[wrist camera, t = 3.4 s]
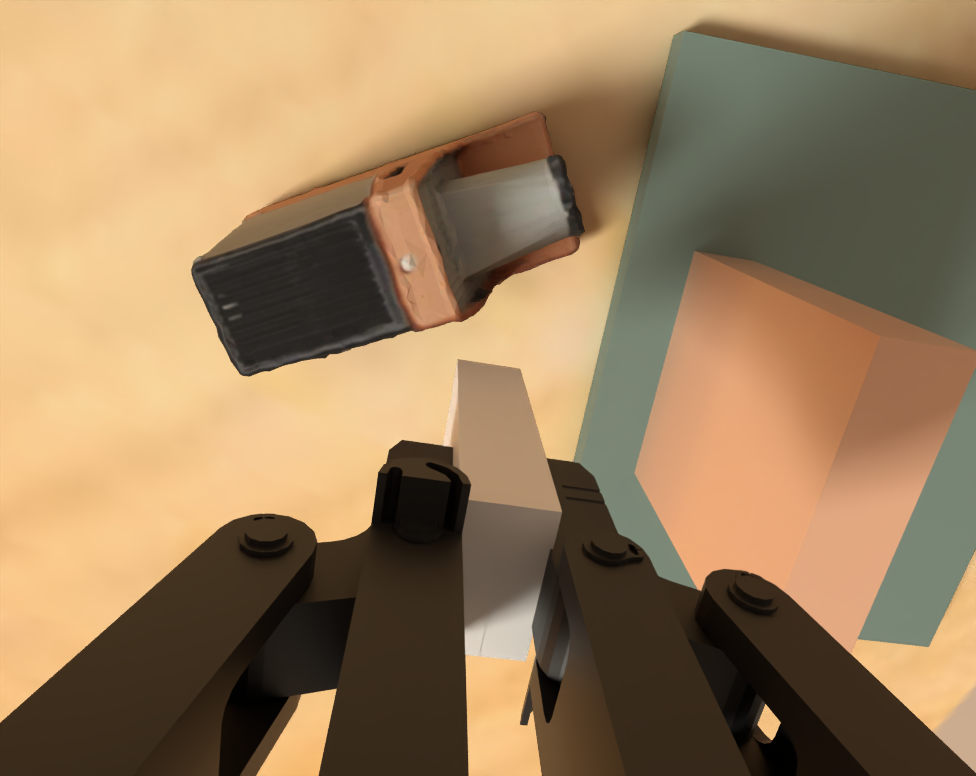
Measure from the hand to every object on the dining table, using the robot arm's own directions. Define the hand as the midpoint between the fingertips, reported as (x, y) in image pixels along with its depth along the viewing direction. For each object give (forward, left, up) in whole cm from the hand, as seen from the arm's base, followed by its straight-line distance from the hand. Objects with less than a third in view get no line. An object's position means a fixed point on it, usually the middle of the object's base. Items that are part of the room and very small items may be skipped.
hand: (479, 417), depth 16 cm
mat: (0, +12, -7) cm, 15 cm away
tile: (0, +7, -6) cm, 10 cm away
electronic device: (-3, -2, -8) cm, 9 cm away
